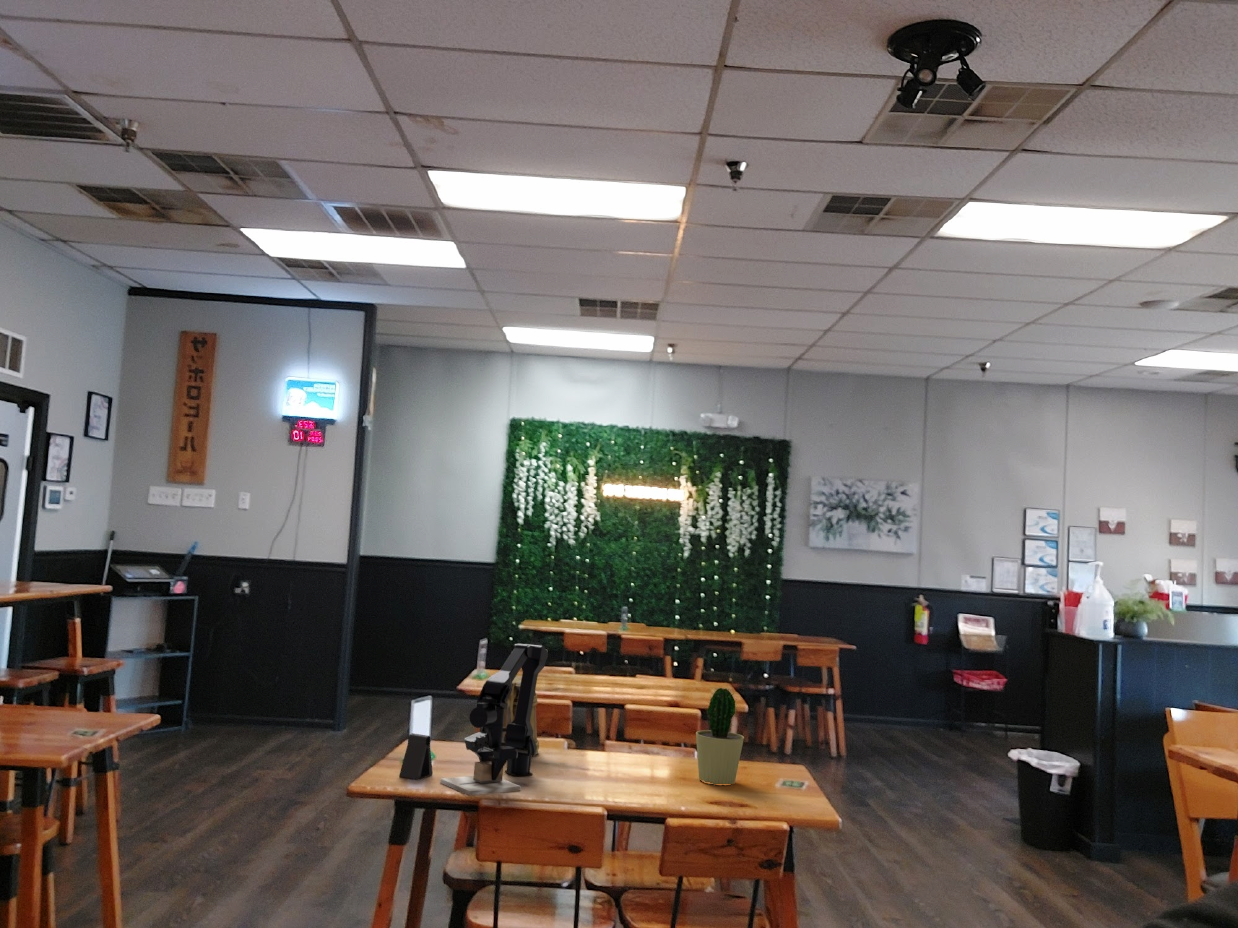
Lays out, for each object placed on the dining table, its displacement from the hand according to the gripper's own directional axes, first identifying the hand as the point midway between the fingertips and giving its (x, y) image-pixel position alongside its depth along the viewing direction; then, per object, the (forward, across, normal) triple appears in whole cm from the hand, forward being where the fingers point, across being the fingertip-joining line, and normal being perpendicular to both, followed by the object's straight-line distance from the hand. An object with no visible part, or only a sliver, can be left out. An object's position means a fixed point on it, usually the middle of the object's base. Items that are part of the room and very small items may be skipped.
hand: (489, 778), depth 295 cm
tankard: (+2, -37, +32) cm, 49 cm away
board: (+2, 0, -3) cm, 4 cm away
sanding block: (+1, 0, 0) cm, 1 cm away
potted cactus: (+2, +21, +72) cm, 75 cm away
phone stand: (+2, -18, -14) cm, 23 cm away
